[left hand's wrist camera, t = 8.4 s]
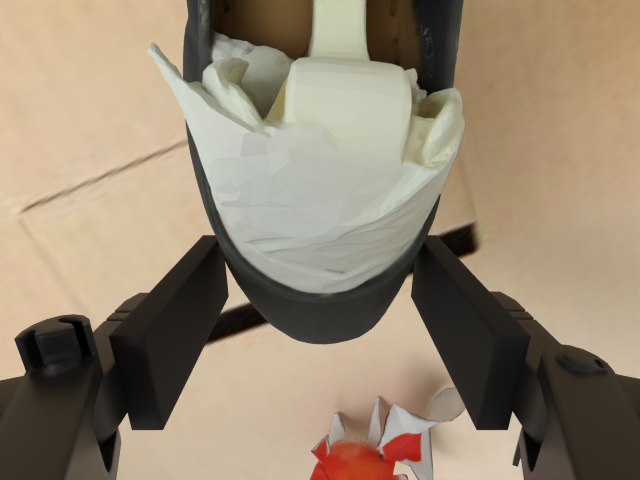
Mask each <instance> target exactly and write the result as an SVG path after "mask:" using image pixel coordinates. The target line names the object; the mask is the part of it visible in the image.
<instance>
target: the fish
mask: <svg viewBox="0 0 640 480" xmlns="http://www.w3.org/2000/svg"><path fill="white" fill-rule="evenodd" d="M465 408H466V407H465V405H464V403H463V401H462V399H461V397H460V395H459V393H458V391H457V389H456V388H447V389H444V390H443V391H442V392H440V393H439V394H438V395H437V396H436V397H435V399H434V400H433V401H432V403H431V411H430V414H429V416H428V418H427V419H425V418H422V417H419V416H417V415H414V414H412V413H409V412H407V411H406V410H404V409H402V408H401V407H399V406H397V405H396V404H394V403H393V405H392V407H391V409H390V411H389V413H388V415H387V417H386V420H385V426H384V432H383V437H382V441H381V447H380V450H376V448H377V447H378V445H379V443H380V440H381V425H380V411H379V398H377V400H376V404H375V407H374V411H373V414H372V418H371V424H370V430H369V434H368V437H367V439H366V441H365V442H361V441H359V440H355V439H343V437H344V435H345V428H344V425H343V423H342V421H341V419H340V416H339V414H335V415H334V417H333V420H332V423H331V427H330V431H329V442H328V435H326V436H325V437H324V438H323V439H322V440H321V441H320V442H319V443H318V444H317V445H316V446H315V447H314V448H313V450H311V452H312V453H313V454H314V455H315V456H316V457H317V459H318V460H319V461H318V463H317V464H316V466H315V468H314V471H313V473H312V476H311V478H310V480H408V477H407V475H404V474H399V475H393V471H394V466H395V462H396V461H398V462H400V463H403V464H405V465H408V466H410V467H411V469H412V471H413V472H414V474H415V476H416V477H417V479H418V480H433V463H432V450H431V434H430V427H432V426H433V425H436V424H439V423H441V422H445V421H453V420H454V419H455V418H456V417H458V416H459V415H460V414H461V413H462V412H463V411H464V409H465Z"/></svg>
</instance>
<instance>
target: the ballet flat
mask: <svg viewBox="0 0 640 480" xmlns="http://www.w3.org/2000/svg"><path fill="white" fill-rule="evenodd" d="M187 7H188V21H187V25H186V28H185V36H184V50H183V77H182V76H181V74H180V72H179V71H178V69H177V67H176V66H175V65H173V64H172V63H171V62H170V61H169V60H168V59H167V58H166V56H165V55H164V54H163V53H162V52H161V51H160V49H159V47H158V46H157V45H156V44H155V43H151V45H150V47H149V49H148V53H149V55H150V56H151V57H152V59H153V60H154V61H155V62H156V64H157V66H158V67H159V69H160V71H161V72H162V74H163V76H164V77H165V79H166V81H167V82H168V84H169V85H170V87H171V89H172V90H173V92H174V94H175V96H176V98H177V100H178V102H179V104H180V106H181V109H182V111H183V114H184V116H185V120H186V129H187V136H188V143H189V148H190V154H191V158H192V163H193V167H194V171H195V176H196V179H197V183H198V186H199V190H200V193H201V197H202V200H203V204H204V207H205V210H206V213H207V215H208V218H209V221H210V224H211V226H212V229H213V231H214V233H215V235H216V237H217V240H218V242H219V245H220V249H221V252H222V255H223V257H224V259H225V262H226V264H227V266H228V268H229V270H230V271H231V273H232V275H233V277H234V278H235V280H236V282H237V284H238V285H239V286H240V288H241V289H242V291H243V292H244V293H245V295H246V296H247V298H248V299H249V301H250V302H251V303H252V304H253V306H254V307H255V308H256V309H257V310H258V311H259V312H260V314H261V315H262V316H263V317H264V318H265V319H266V320H267V321H268V322H269V323H270V324H271V325H272V326H274V327H275V328H277V329H278V330H280V331H282V332H283V333H285V334H286V335H288V336H290V337H291V338H293V339H296V340H298V341H301V342H306V343H311V344H333V343H339V342H343V341H348V340H352V339H355V338H358V337H360V336H362V335H363V334H365V333H366V332H368V331H369V330H371V329H372V328H373V327H374V326H375V325H376V324H377V323H378V321H379V320H380V319H381V317H382V316H383V315H384V314H385V312H386V311H387V309H388V307H389V306H390V305H391V303H392V301H393V300H394V298H395V296H396V295H397V293H398V292H399V290H400V288H401V286H402V284H403V283H404V281H405V279H406V277H407V275H408V273H409V271H410V269H411V268H412V265H413V263H414V260H415V257H416V254H417V253H418V251H419V250H420V248H421V247H422V245H423V243H424V241H425V239H426V237H427V235H428V232H429V230H430V228H431V225H432V223H433V221H434V218H435V214H436V211H437V207H438V204H439V200H440V195H441V192H442V189H443V187H444V184H445V182H446V179H447V177H448V174H449V171H450V169H451V166H452V164H453V162H454V160H455V158H456V156H457V153H458V150H459V146H460V143H461V139H462V136H463V133H464V129H465V120H464V117H463V115H462V105H463V103H462V98H461V93H460V91H459V90H458V89H457V88H453V84H454V71H455V64H456V54H457V50H458V42H459V33H460V24H461V16H462V8H463V0H187Z"/></svg>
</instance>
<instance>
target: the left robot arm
mask: <svg viewBox="0 0 640 480" xmlns="http://www.w3.org/2000/svg"><path fill="white" fill-rule="evenodd" d="M228 297H229V295H228V285H227V275H226V266H225V259H224V257H223V255H222V252H221V249H220V245H219V242H218V240H217V237H216V235H203V236H202V237H201V238H200V239H199V240H198V241H197V243H196V244H195V245H194V246H193V247H192V248H191V249H190V250H189V251H188V252H187V253H186V254H185V255H184V256H183V257H182V259H181V260H180V261H179V262H178V263H177V264H176V265H175V266H174V267H173V268H172V269H171V270H170V271H169V272H168V273H167V275H166V276H165V277H164V278H163V279H162V280H161V281H160V282H159V283H158V284H157V285H156V286H155V287H154V288H153V289H152V290H151V292H150V293H139V294H137V295H135V296H133V297H132V298H130V299H128V300H126V301H125V302H124V303H123V304H121V305H120V306H119V307H118V308H117V309H116V310H115V313H112V314H111V315H110V316H109V317H108V318H107V319H106V321H104V322H103V323H102V324H101V325H100V326H99V327H98V328H97V329H96V330H95V331H94V332H92V328H91V324H90V320H89V319H88V318H87V317H85V316H83V315H75V314H73V315H62V316H58V317H54V318H50V319H46V320H44V321H41V322H39V323H36V324H34V325H32V326H30V327H29V328H27V329H25V330H24V331H22V332H21V333H20V334H19V335H18V336H17V337H16V338H15V342H16V345H17V348H18V350H19V353H20V356H21V359H22V361H23V364H24V367H25V370H26V373H25V375H24V376H21V377H16V378H11V379H6V380H1V381H0V480H116V477H117V470H118V462H119V455H120V447H121V437H120V432H119V428H118V426H119V425H120V423H121V422H122V420H123V418H124V417H125V415H126V414H127V412H128V416H129V420H130V424H131V428H132V430H163V429H164V427H165V425H166V423H167V421H168V419H169V417H170V415H171V413H172V411H173V409H174V406H175V404H176V402H177V400H178V398H179V396H180V394H181V392H182V390H183V388H184V386H185V384H186V382H187V380H188V378H189V376H190V374H191V372H192V370H193V368H194V366H195V364H196V362H197V360H198V358H199V356H200V354H201V352H202V350H203V347H204V345H205V343H206V341H207V339H208V337H209V335H210V333H211V331H212V329H213V327H214V325H215V323H216V321H217V319H218V317H219V315H220V313H221V311H222V309H223V307H224V305H225V303H226V301H227V299H228ZM411 297H412V299H413V301H414V303H415V305H416V307H417V309H418V312H419V314H420V316H421V318H422V320H423V322H424V324H425V326H426V328H427V330H428V332H429V334H430V336H431V338H432V340H433V342H434V344H435V346H436V348H437V350H438V352H439V354H440V356H441V358H442V360H443V362H444V364H445V366H446V368H447V370H448V373H449V375H450V377H451V379H452V381H453V383H454V385H455V387H456V389H457V391H458V393H459V395H460V397H461V399H462V401H463V403H464V405H465V407H466V409H467V411H468V413H469V415H470V417H471V419H472V421H473V423H474V425H475V427H476V429H477V430H508V427H509V423H510V419H511V415H512V411H513V412H514V414H515V416H516V417H517V419H518V420H519V422H520V423H521V425H522V428H521V432H520V436H519V440H518V443H517V447H516V451H515V455H514V459H513V465H514V466H517V467H518V464H519V461H520V458H521V461H522V469H523V476H524V480H640V379H637V378H632V377H627V376H622V375H617V374H615V372H614V371H613V369H612V368H611V367H610V366H609V365H608V364H607V363H606V362H605V361H603V360H602V359H601V358H599V357H598V356H596V355H594V354H592V353H590V352H588V351H586V350H583V349H580V348H577V347H573V346H570V345H561V344H560V343H559V342H558V341H557V340H556V339H555V338H554V337H553V336H552V335H551V334H550V333H549V332H548V331H547V330H546V329H545V328H543V327H542V326H541V325H540V324H539V323H538V322H537V321H536V320H534V319H533V317H532V316H531V315H530V314H529V313H528V312H525V309H524V308H523V307H522V306H521V305H520V304H519V303H518V302H517V301H516V300H514V299H512V298H511V297H509V296H507V295H505V294H503V293H501V292H489V291H488V290H487V289H486V288H485V287H484V286H483V284H482V283H481V282H480V281H479V280H478V279H477V278H476V277H475V276H474V275H473V274H472V273H471V272H470V271H469V270H468V268H467V267H466V266H465V265H464V264H463V263H462V262H461V261H460V260H459V259H458V258H457V257H456V256H455V255H454V254H453V252H452V251H451V250H450V249H449V248H448V247H447V246H446V245H445V244H444V243H443V242H442V241H441V240H440V239H439V238H438V236H437V235H427V237H426V239H425V241H424V243H423V245H422V247H421V248H420V250H419V251H418V253H417V254H416V257H415V263H414V272H413V282H412V292H411Z"/></svg>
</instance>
